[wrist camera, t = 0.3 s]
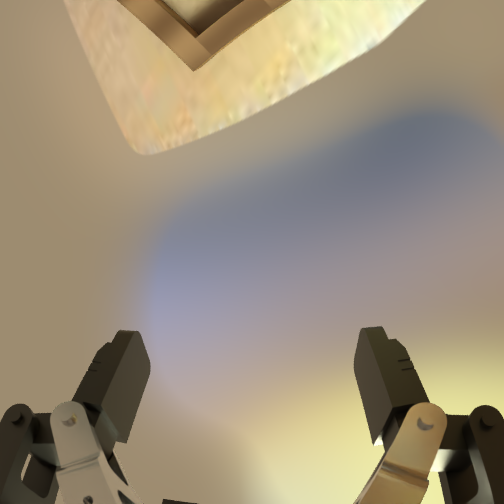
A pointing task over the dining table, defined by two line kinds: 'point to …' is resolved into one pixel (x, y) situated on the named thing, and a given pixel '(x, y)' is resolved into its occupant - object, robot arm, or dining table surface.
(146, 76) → the dining table surface
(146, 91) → the dining table surface
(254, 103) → the dining table surface
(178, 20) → the frame
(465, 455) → the robot arm
